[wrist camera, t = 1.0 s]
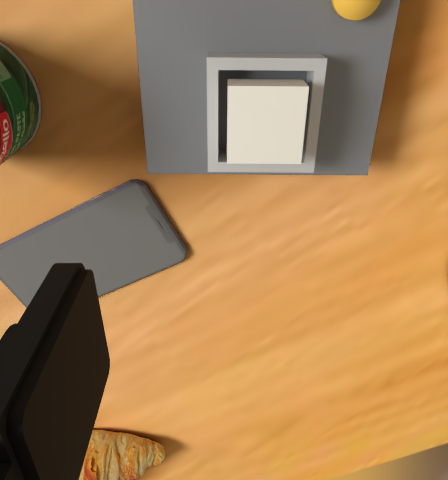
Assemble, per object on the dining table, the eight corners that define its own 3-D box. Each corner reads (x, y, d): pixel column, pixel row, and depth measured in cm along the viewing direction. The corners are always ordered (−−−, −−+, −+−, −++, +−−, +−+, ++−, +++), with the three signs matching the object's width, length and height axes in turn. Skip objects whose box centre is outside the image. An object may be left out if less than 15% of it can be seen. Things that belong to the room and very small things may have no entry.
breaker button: (302, 79, 23) (308, 86, 21) (295, 152, 25) (301, 164, 23) (227, 78, 23) (227, 85, 21) (226, 151, 25) (226, 163, 23)
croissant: (160, 392, 47) (137, 427, 39) (184, 480, 47) (166, 532, 39) (-12, 431, 49) (-66, 472, 41) (11, 514, 50) (-38, 570, 42)
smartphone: (-24, 257, 33) (139, 177, 30) (-17, 250, 34) (141, 172, 31) (38, 324, 37) (191, 259, 33) (43, 316, 38) (192, 252, 34)
